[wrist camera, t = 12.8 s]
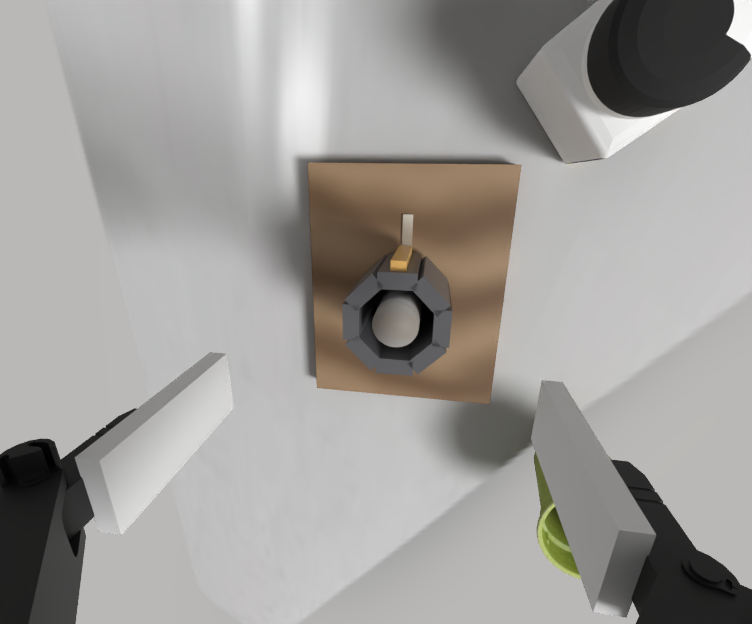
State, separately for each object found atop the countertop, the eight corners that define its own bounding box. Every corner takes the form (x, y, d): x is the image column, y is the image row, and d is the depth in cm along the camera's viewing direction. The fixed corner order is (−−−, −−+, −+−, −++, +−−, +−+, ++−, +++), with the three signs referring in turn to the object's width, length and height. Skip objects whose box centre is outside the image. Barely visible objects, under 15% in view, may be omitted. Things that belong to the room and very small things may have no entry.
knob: (361, 332, 32) (343, 370, 26) (362, 242, 30) (341, 259, 23) (444, 338, 31) (446, 378, 25) (451, 246, 29) (456, 265, 22)
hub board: (313, 163, 31) (263, 155, 22) (517, 165, 28) (554, 157, 20) (321, 380, 37) (285, 442, 28) (487, 395, 35) (504, 467, 26)
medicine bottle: (564, 166, 28) (650, 155, 17) (513, 81, 27) (568, 9, 16) (662, 97, 26) (836, 32, 15) (610, 2, 25) (757, -149, 13)
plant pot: (524, 501, 38) (548, 587, 30) (506, 424, 36) (528, 495, 28) (624, 490, 36) (680, 579, 28) (614, 407, 34) (671, 479, 25)
